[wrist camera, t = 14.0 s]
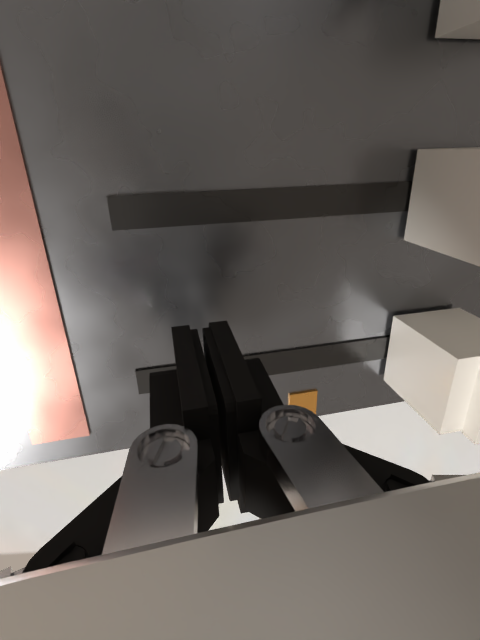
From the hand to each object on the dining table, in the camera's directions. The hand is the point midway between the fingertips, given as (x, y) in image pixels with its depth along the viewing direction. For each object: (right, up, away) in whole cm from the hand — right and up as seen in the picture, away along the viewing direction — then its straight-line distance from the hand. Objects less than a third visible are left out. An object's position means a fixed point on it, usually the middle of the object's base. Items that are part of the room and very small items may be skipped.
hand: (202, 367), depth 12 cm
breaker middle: (+9, +6, +2) cm, 10 cm away
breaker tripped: (+9, 0, +4) cm, 10 cm away
